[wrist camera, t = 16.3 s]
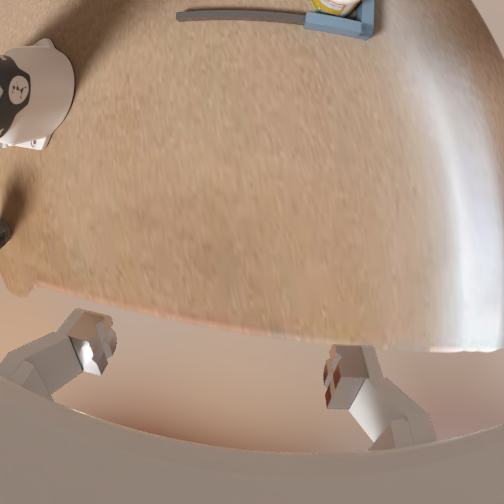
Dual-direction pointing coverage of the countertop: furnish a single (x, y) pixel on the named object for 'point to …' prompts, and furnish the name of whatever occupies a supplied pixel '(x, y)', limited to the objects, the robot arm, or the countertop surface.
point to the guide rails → (241, 16)
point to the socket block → (345, 22)
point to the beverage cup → (4, 233)
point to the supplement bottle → (334, 7)
